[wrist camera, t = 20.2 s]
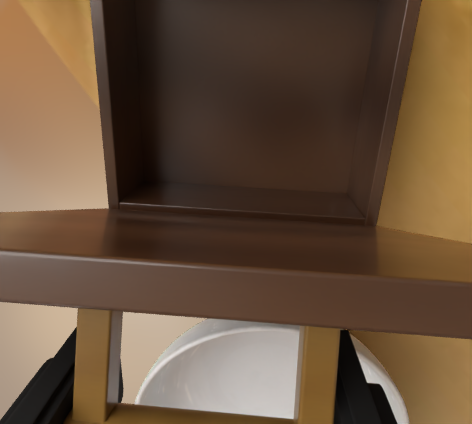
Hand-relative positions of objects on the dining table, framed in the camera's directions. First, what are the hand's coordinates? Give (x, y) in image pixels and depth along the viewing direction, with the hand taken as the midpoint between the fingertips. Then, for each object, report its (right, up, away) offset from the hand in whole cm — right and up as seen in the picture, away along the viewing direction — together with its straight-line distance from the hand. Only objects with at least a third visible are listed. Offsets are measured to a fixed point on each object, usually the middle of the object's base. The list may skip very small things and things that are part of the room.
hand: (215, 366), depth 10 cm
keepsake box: (+2, +13, +14) cm, 19 cm away
